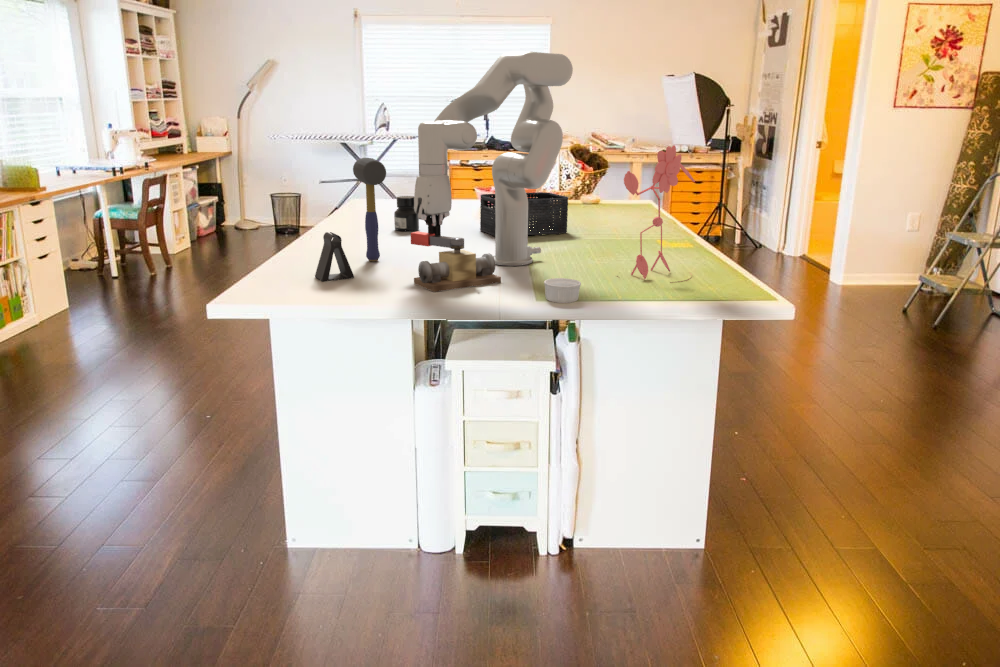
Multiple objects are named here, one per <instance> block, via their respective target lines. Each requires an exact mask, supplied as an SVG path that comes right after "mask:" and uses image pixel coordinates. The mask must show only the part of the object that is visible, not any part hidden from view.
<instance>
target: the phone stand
mask: <svg viewBox="0 0 1000 667" xmlns="http://www.w3.org/2000/svg"><path fill="white" fill-rule="evenodd" d="M342 241H343V240H342V237H341V236H340V235H338V234H336V233H334V232H330V231H329V232H327V231H326V232H325V233H324V234H323V246H322V249H321V253H320V257H319V259H318V263H317V267H316V271H315V273H314V277H315V278H316V279H318V280H320V281H321V282H325V283H326V282H332V281H338V280H339V281H340V280H349V279H355V274H354V272H353V270H352V268H351V266H350V263H349V261H348V258H347V256H346V254H345V251H344V248H343V246H342V245H343V244H342ZM334 257H335V261H336V263H337V267H338V270H339V273H331V268H332V262H333V258H334ZM330 273H331V274H330Z"/></svg>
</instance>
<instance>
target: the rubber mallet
mask: <svg viewBox="0 0 1000 667" xmlns="http://www.w3.org/2000/svg"><path fill="white" fill-rule="evenodd" d="M352 172H353V175H354V177H355V178H356V179H357V180H358V181H359V182H362V183H363V184H365V198H366V201H365V202H366V212H365V216H364V218H365V222H364V223H365V224H364V226H365V227H364V229H365V230H364V231H365V235H366V253H365V254H366V256H365V257H366V258H367V260H368V261H369V262H377V261H379V259H380V258H381V256H380V255H381V253H380V250H379V220H378V219H379V218H378V213H377V210H376V193H375V191H376V189H375V186H377V185H380V184H382V183H383V182H384V180H385V179H386V177H387V169H386V167H385V165H384V163H382V162H381V161H379V160H377V159H376V158H372V157H362V158H361V157H360V158H359V159H357V160H356V161H355V162H354V164H353V167H352Z"/></svg>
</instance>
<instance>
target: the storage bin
mask: <svg viewBox="0 0 1000 667" xmlns="http://www.w3.org/2000/svg"><path fill="white" fill-rule="evenodd" d="M526 194H527V198H528V235H540V236H543V235H542V234H556V235H560V234H559V233H565V234H567V233H568V215H569V214H568V213H569V212H568V211H569V210H568V208H569V196H565V195H562V194H561V195H560V194H556V193H552V192H545V191H544V192H543V191H542V192H541V191H540V192H539V191H537V192H526ZM479 208H480V211H479V212H480V214H479V215H480V217H479V219H480V220H479V221H480V223H479V224H480V228H479V231H480V232H483V233H485V234H488V235H491V236H494V237H495V193H484V194H482V193H481V194H480V207H479ZM549 226H550V227H549ZM529 227H530V228H529ZM533 227H534V228H533ZM543 229H544V230H543ZM550 229H551V230H550ZM552 229H553V230H552ZM530 230H531V231H530ZM539 232H540V233H539ZM566 232H567V233H566Z"/></svg>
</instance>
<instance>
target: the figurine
mask: <svg viewBox="0 0 1000 667" xmlns="http://www.w3.org/2000/svg"><path fill="white" fill-rule="evenodd" d="M656 157H657V158H656V159H657V161H658V162H657V164H656V165H655V167H654V174H653V177H652V185H651V186H650V187H648V188H645V189H644V190H642V191H639V192H638V190H639V184H640V182H639V180H638V178H637V177H636V175H635V174H634V173H632V172H631V171H630V170H627V171H626V173H625V174H624V177H623V184H624V187H625V189H626V190H628V191H629V193H630V194H631V195H632V196H634V195H636V196H637V197H638V196H639V195H641V194H643V193H645V192H648V191H650V190H651V191H652V192H653V193H654V195H655V198H656V199H657V200H658V201H657V205H658V206H657V209H658V216H655V217H654V218H653V219H652V225H650V226H648V227H647V228H645V229H644V230H642V231H640V234H639V235H640V236H639V237H640V241H639V242H640V243H639V244H640V245H639V246H640V249H639V250H640V252H639V253H640V254H637V256H636V259H635V260H636V261H635V263H636V264H635V266H634V268H633V269H632V270H631V271H632V272H631V273H630V275H631V276H633V275H634V273H635V272H636V271H637V269H638V272H639V273H640V275H641V276H642V277H643V279H646V278H647V277H648V274H649V265H648V262H647V260H646V258H645V256H643V252H642V251H643V244H642V243H643V242H642V241H643V239H642V237H643V236H642V235H643V233H644V232H646V231H647V230H649V229H652V228H653V227H659V228H660V250H658V251H657V252H658V256H657V257H656V259H655V261H654V262H653V264H652V267H651V268H650V271H651V272H652V271H653V270H654V268H655V267H656V265H657V263H658V261H659V259H661V261H662V263H663V265H664V267H665V268H666V269H667V271H668V272H671V269H670V267H669V265H668V263H667V260H666V258H665V255H663V254H664V253H663V224H664V220H663V218H662V217H661V198H660V196H659V195H658V193H657V191H656V190H659V193H660V194H663V192H665V193H666V194H668V193H669V191H670V189H671V186H672V187H675V186H677V185H678V183H679V178H678V176H677V175H678V174H679V173H680V170H681V171H683V173H684V174H685V176H687V177H688V178H689V179H690V180H691V181H692V182H693V183H695V182H696V180H695V179H694V177H693V176H692V175H691V173H690V172H689V170H688V169H687V168H686V167H685V166H684V165H683V164H682V163H681V161H682V155H681V154H677V147H676V145H672V146H669V145H667V147H666V148H665V151H663V150H659V151H658V152H657V156H656ZM657 183H658V186H656V184H657ZM689 274H690V275H691V276H692V275H693V274H692V273H691V272H689ZM615 277H616V278H619V279H620V276H618V275H615ZM690 279H692V277H690V278H688V279H685V280H680V281H677V283H682V282H685V281H686V282H688V281H690ZM669 283H670V284H673V283H675V281H669Z"/></svg>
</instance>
